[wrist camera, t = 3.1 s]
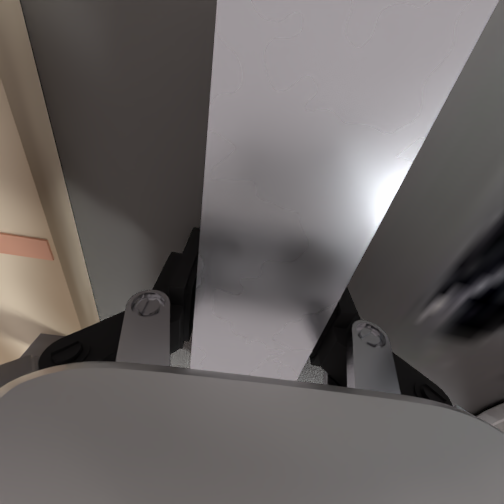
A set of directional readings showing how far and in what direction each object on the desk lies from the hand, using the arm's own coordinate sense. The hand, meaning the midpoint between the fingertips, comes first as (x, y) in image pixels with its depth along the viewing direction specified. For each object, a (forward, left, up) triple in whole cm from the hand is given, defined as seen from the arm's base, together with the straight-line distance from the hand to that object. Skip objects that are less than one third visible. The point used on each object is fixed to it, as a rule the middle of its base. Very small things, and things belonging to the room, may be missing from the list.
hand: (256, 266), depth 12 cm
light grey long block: (0, 0, 0) cm, 0 cm away
